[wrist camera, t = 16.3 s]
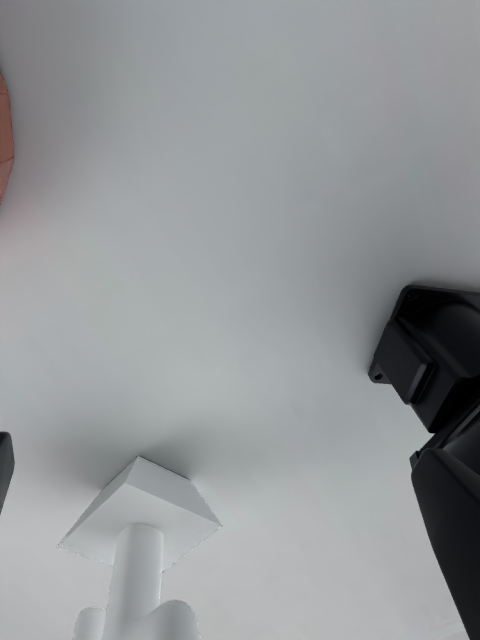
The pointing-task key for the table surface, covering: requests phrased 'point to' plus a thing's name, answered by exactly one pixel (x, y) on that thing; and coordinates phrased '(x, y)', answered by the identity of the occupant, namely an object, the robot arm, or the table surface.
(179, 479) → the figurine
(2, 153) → the terracotta bowl
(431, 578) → the table surface
